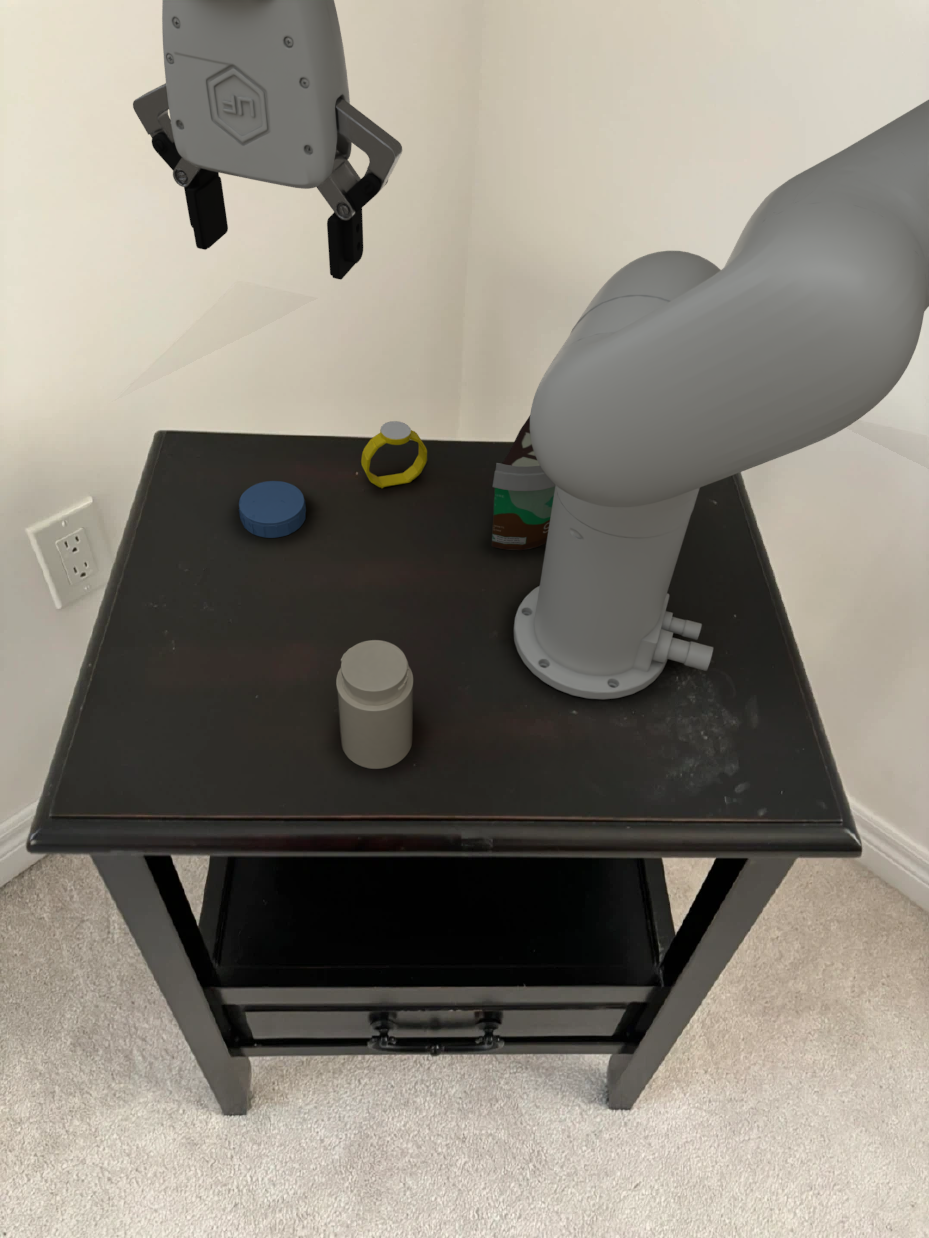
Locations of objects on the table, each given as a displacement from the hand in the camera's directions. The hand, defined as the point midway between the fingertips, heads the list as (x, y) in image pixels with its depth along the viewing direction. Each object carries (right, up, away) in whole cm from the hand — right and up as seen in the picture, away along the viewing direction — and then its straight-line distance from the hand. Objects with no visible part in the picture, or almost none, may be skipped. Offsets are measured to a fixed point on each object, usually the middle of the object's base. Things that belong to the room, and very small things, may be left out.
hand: (278, 255), depth 62 cm
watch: (+6, -11, +26) cm, 29 cm away
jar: (+6, -33, +6) cm, 34 cm away
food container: (+19, -16, +23) cm, 34 cm away
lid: (-5, -14, +20) cm, 25 cm away
